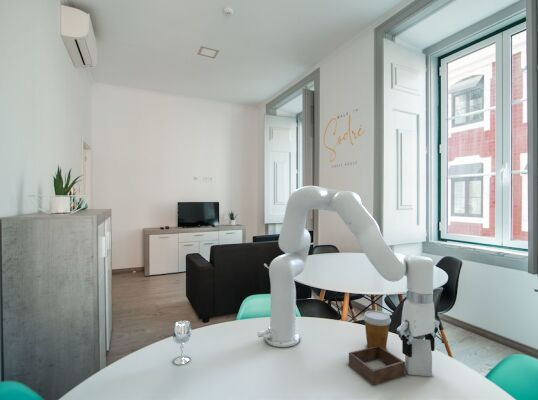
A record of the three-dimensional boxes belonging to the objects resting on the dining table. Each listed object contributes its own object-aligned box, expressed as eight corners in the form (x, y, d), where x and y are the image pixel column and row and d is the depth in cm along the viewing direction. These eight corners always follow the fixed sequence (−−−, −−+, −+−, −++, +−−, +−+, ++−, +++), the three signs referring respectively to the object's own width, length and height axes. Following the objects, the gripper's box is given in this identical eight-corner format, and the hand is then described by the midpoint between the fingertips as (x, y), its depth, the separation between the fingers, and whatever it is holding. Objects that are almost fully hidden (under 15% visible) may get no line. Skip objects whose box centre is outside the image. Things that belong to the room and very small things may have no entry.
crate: (373, 385, 84) (373, 371, 84) (348, 365, 95) (348, 352, 95) (405, 375, 90) (405, 362, 90) (378, 357, 100) (378, 345, 100)
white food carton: (431, 376, 89) (432, 343, 89) (408, 374, 90) (408, 341, 90) (427, 369, 93) (428, 337, 93) (405, 367, 94) (405, 335, 94)
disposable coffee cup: (387, 343, 110) (387, 310, 110) (393, 356, 101) (394, 320, 101) (361, 341, 111) (361, 309, 111) (365, 354, 102) (365, 319, 102)
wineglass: (194, 358, 97) (195, 321, 97) (181, 367, 91) (182, 328, 92) (181, 354, 99) (182, 318, 99) (167, 362, 94) (168, 324, 94)
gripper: (428, 290, 99) (427, 341, 99) (389, 296, 92) (388, 351, 91) (449, 297, 92) (448, 352, 92) (408, 304, 85) (407, 364, 85)
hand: (418, 352), depth 92 cm, fingers open, 9 cm apart
